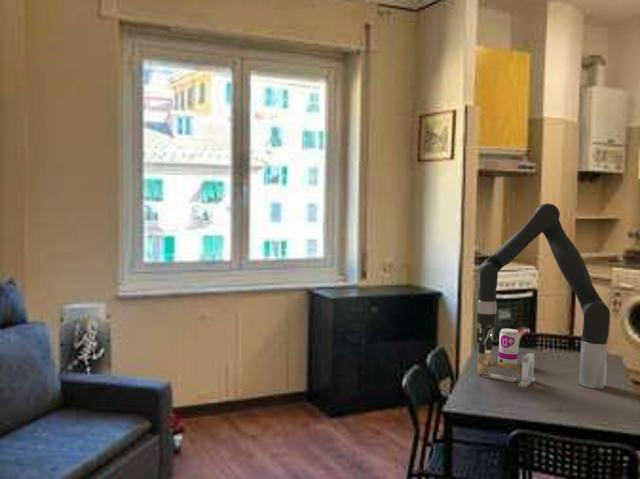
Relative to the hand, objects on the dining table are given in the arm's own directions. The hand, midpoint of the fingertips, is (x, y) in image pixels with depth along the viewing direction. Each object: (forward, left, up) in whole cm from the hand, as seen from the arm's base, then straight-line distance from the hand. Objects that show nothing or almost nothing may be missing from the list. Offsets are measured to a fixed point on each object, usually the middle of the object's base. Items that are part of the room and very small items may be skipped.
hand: (485, 351), depth 259 cm
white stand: (-9, 0, -10) cm, 13 cm away
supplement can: (-2, -24, -10) cm, 26 cm away
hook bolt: (-6, 0, -9) cm, 11 cm away
